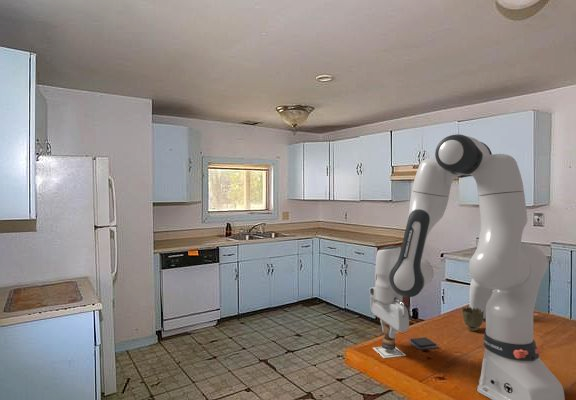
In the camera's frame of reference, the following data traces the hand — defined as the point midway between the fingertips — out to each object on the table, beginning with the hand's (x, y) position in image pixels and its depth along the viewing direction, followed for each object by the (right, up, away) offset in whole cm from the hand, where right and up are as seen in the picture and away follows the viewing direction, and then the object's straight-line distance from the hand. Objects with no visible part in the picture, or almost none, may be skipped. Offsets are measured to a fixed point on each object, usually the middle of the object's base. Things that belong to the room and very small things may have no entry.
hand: (388, 335), depth 125 cm
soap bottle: (+49, -5, +33) cm, 59 cm away
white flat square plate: (0, -6, 0) cm, 6 cm away
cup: (+38, -5, +19) cm, 42 cm away
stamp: (0, -4, 0) cm, 4 cm away
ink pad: (+14, -5, +6) cm, 16 cm away
